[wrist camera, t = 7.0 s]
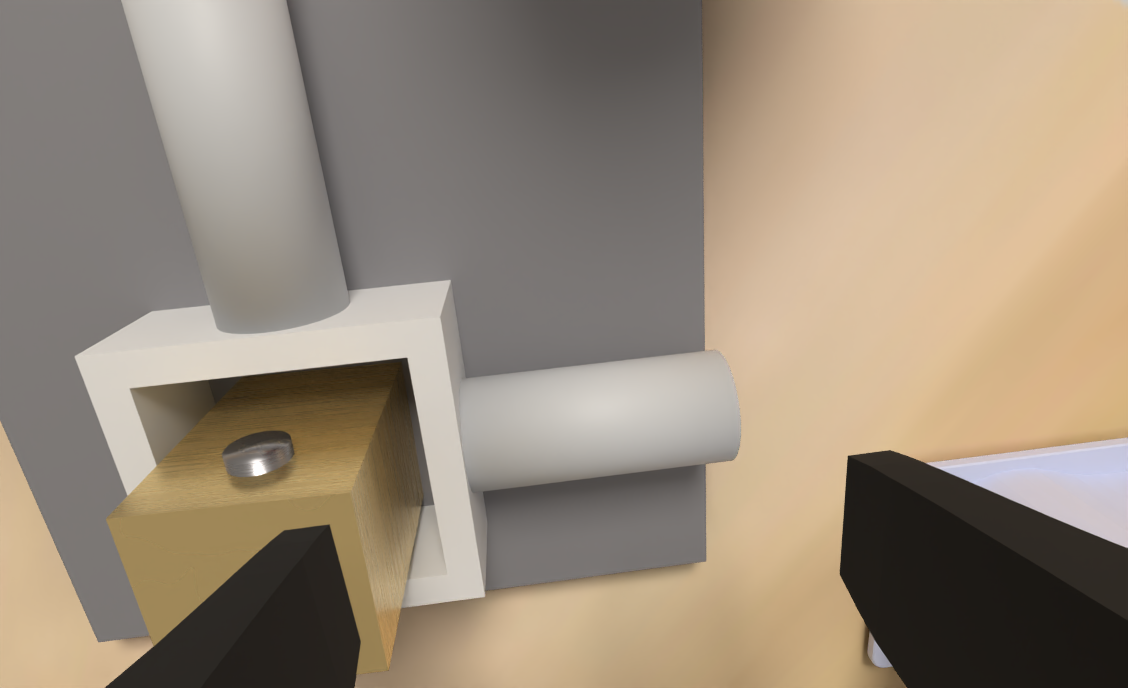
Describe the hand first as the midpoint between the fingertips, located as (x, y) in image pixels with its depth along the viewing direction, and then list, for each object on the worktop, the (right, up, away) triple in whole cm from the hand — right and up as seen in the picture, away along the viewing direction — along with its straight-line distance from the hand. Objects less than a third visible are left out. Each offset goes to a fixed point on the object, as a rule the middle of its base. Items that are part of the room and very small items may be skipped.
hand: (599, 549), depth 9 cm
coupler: (-7, 0, +8) cm, 10 cm away
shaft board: (-6, +4, +8) cm, 11 cm away
